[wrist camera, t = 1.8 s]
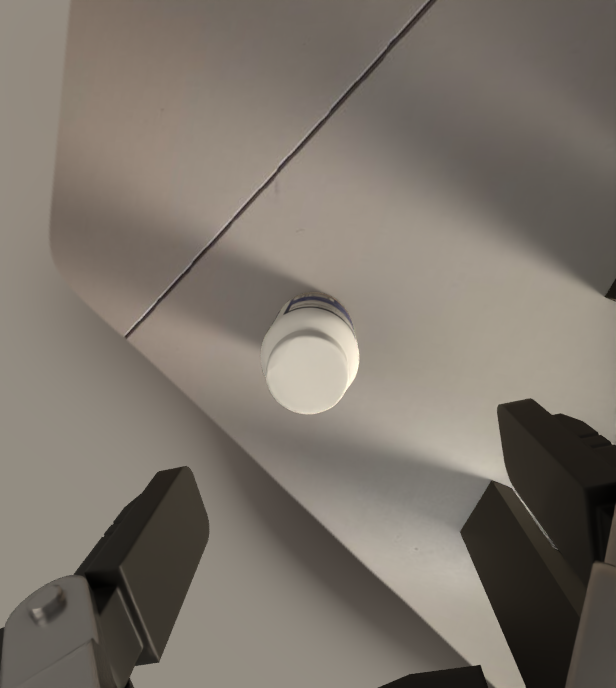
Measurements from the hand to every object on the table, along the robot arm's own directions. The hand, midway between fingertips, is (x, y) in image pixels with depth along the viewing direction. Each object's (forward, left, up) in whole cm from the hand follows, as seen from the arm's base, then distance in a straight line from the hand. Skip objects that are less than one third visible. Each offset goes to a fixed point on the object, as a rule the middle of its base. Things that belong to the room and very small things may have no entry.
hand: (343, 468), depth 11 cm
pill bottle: (0, -2, -19) cm, 19 cm away
